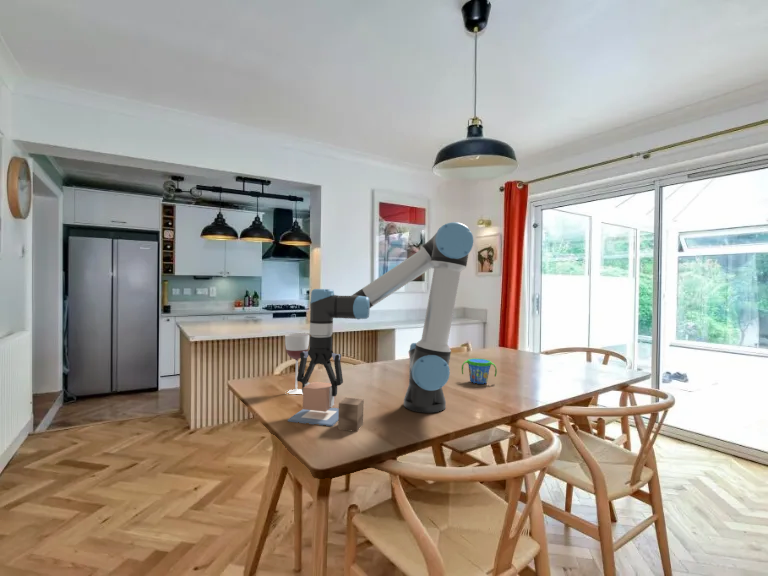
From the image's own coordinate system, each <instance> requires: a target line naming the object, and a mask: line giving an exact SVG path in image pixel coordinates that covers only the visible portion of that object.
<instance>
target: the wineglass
mask: <svg viewBox="0 0 768 576" xmlns="http://www.w3.org/2000/svg"><path fill="white" fill-rule="evenodd" d="M309 337H310V333H301V332H300V333H299V332H298V333H297V332H295V333H286V334H285V335H284V344H285V351H286V353H287V356H289V357H290V358H291V359H293V360H295V373H294V374H295V378H294V380H295V383H294V384H295V385H294V387H295V388H294V389H293V390H292V389H288V390H289V391H288V390H287V391H288V392H287V393H289V394H302V395H303V393H302V388H298V381H297V376H298V371H299V360H301V358H300V353H301V352H303V351H306V352H307V351H309Z"/></svg>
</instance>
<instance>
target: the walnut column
mask: <svg viewBox="0 0 768 576" xmlns="http://www.w3.org/2000/svg"><path fill="white" fill-rule="evenodd" d="M338 408H339V415H338V423H337V424H338V426H337V428H338V429H337V430H339V429H343V430H342V431H347V430H352V431H351V432H355V431H357V432H358V431H359V430H360V429H361V428H362V427H361V426H363V425H364V399H363V398H356V397H355V398H353V397H344V398H343V399H342V400H341V401H339V403H338ZM360 427H361V428H360ZM359 428H360V429H359Z"/></svg>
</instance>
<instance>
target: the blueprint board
mask: <svg viewBox="0 0 768 576" xmlns="http://www.w3.org/2000/svg"><path fill="white" fill-rule="evenodd" d="M338 415H339V407H338V408H337V407H331V408H330V409H329V410H327V411H326V412H323V411H314V410H305V409H303V408H302V409H301V410H300V411H298V412H297V413H295V414H293V415H292V416H290V417H289V418H288V419H287V422H290V423H291V422H292V423H298V422H299V424H306V423H309V425H314V424H319V425H318V426H323V425H326V427H331V426H332V427H333V426H334V425H336V424H337V423H336V422H337V421H338Z"/></svg>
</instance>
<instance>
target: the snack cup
mask: <svg viewBox="0 0 768 576" xmlns="http://www.w3.org/2000/svg"><path fill="white" fill-rule="evenodd" d="M466 363H467V364H468V374H469V375H468V376H469V381H471V382H470V383H472V382H473V383H472V384H475V383H477V384H478V385H485V384H487V383H488V379H489V374H490V369H491V366H493V367H494V368H495V370H494V377H497V374H498V370H497V365H496V364H494V363H493V362H492V361H491V360H489V359H485V358H476V357H475V358H468V359H467V360H465V361H464V362H463V363H462V364H461V374H462V375H464V365H465V364H466ZM484 383H485V384H484Z"/></svg>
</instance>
